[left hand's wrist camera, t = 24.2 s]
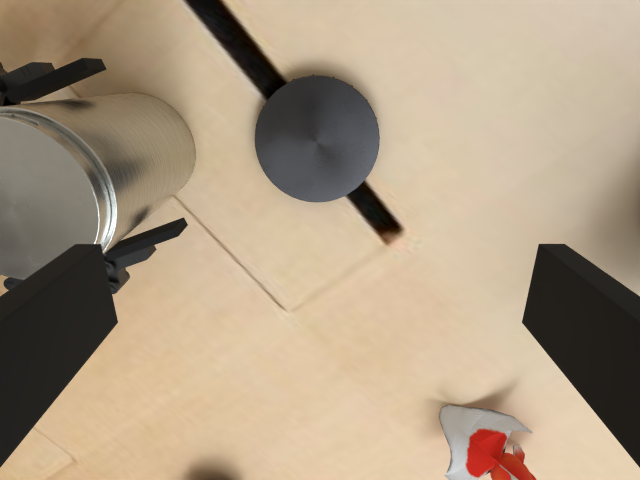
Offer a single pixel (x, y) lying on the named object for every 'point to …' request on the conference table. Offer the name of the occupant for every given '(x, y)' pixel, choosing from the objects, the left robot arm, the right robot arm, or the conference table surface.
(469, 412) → the fish
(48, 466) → the conference table surface
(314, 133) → the lid
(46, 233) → the jar
